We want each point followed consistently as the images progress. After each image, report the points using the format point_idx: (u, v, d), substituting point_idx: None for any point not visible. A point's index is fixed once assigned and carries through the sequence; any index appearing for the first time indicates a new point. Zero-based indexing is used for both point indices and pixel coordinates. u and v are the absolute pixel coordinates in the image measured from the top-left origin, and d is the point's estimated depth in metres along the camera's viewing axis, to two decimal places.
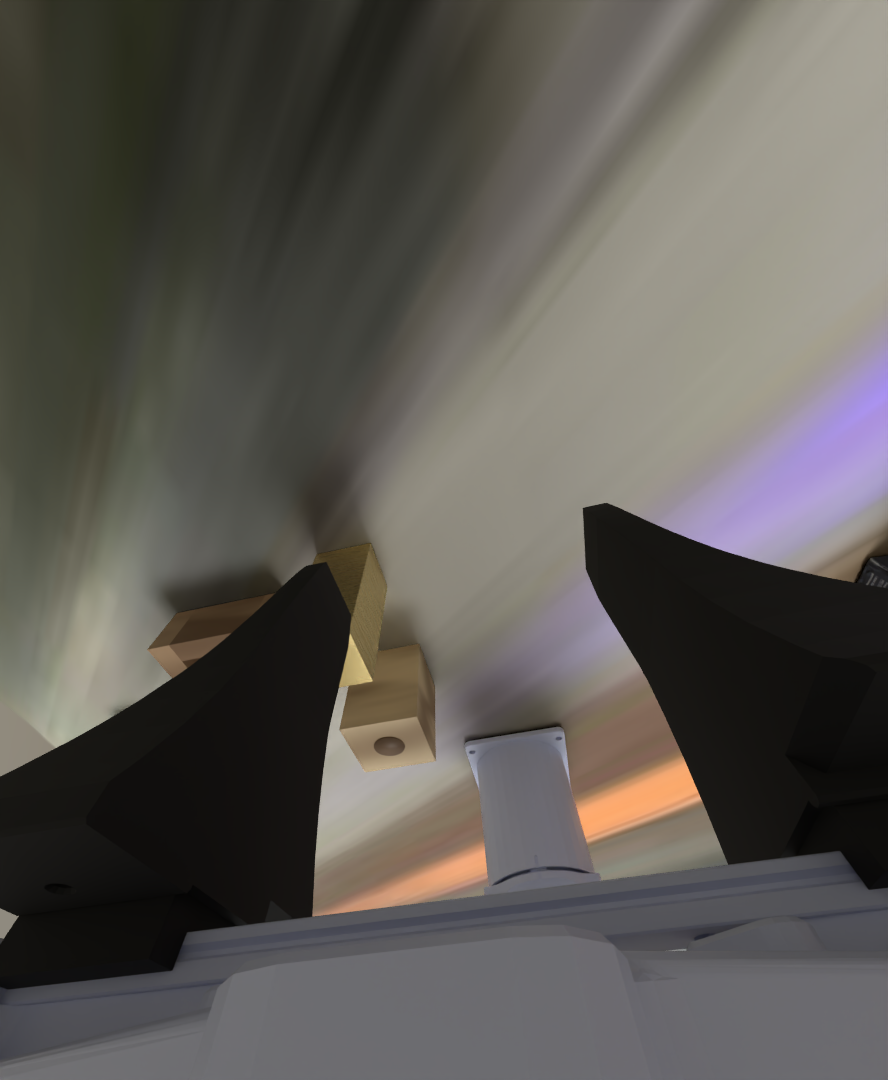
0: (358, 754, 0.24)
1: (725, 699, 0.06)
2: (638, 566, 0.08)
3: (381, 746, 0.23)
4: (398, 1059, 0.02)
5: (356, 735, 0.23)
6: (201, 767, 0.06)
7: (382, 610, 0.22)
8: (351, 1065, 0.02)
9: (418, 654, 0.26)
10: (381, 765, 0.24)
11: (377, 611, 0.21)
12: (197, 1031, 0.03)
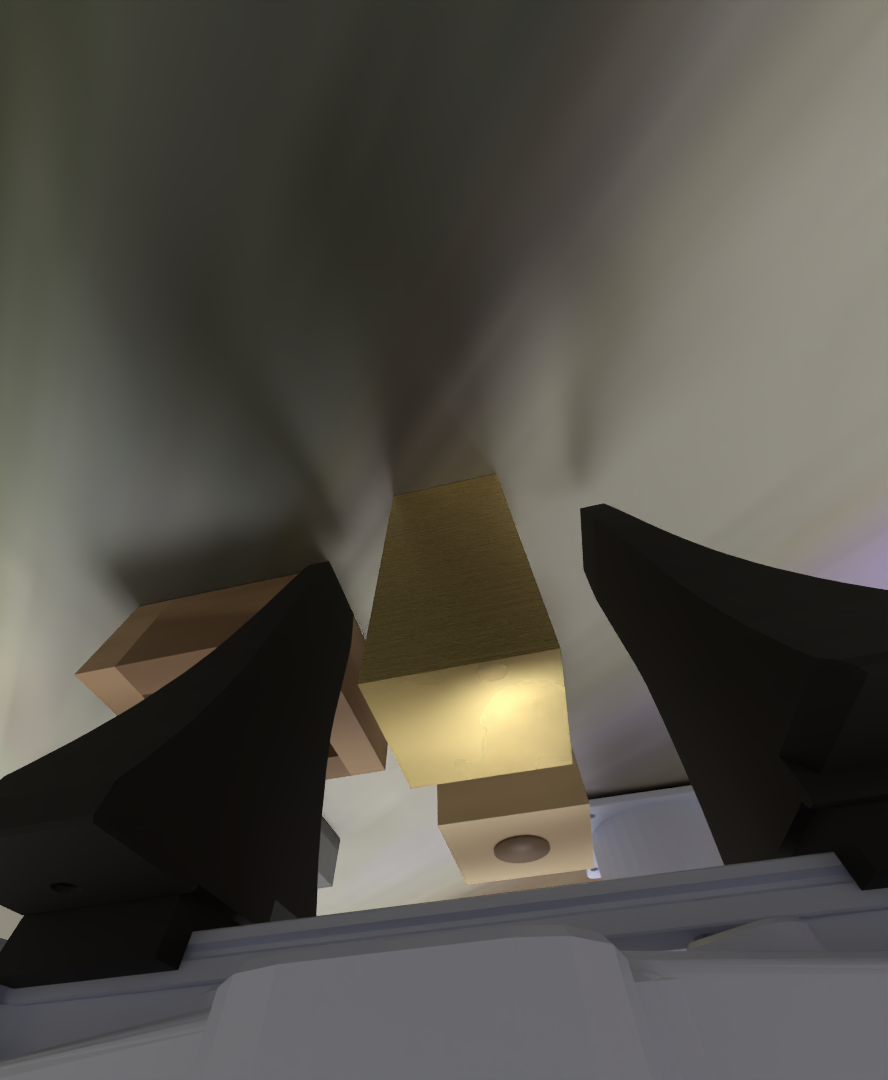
0: (462, 860, 0.13)
1: (720, 700, 0.06)
2: (634, 567, 0.08)
3: (507, 849, 0.13)
4: (399, 1060, 0.02)
5: (465, 834, 0.12)
6: (206, 766, 0.06)
7: None
8: (352, 1066, 0.02)
9: None
10: (497, 875, 0.14)
11: None
12: (197, 1031, 0.03)
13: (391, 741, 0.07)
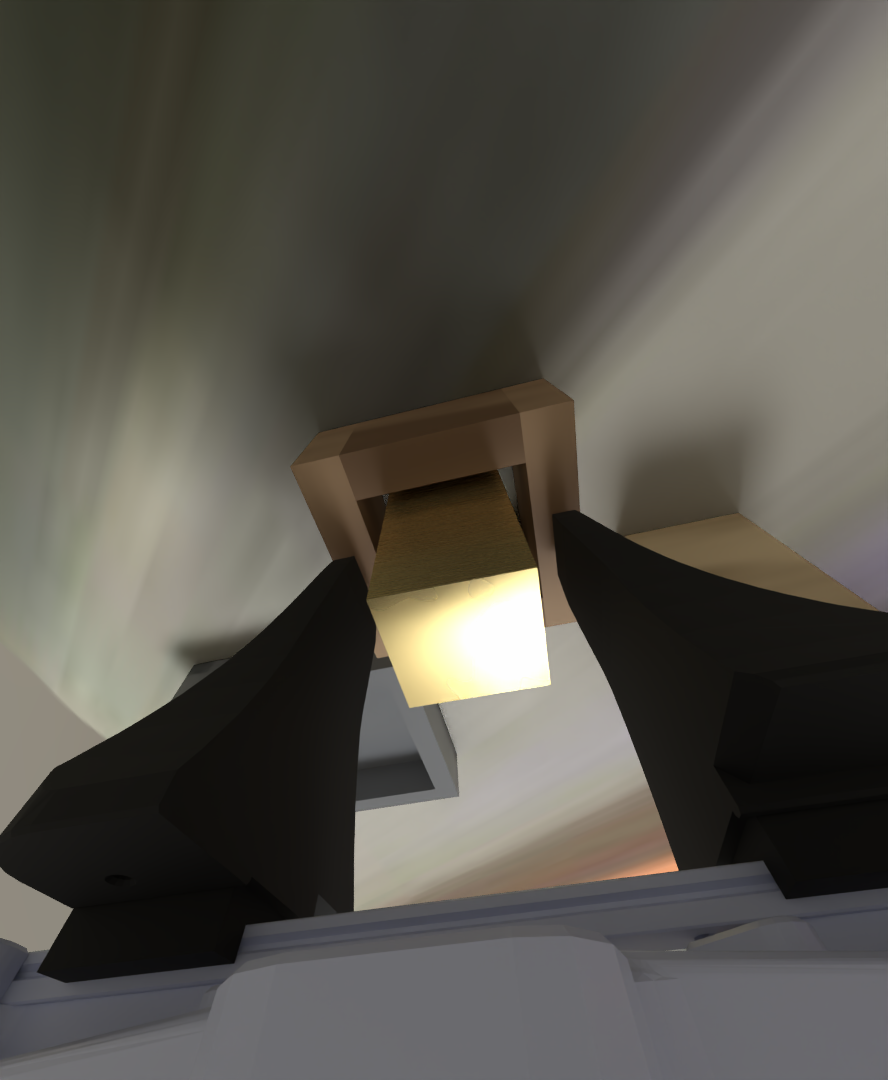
0: None
1: (667, 708, 0.06)
2: (596, 574, 0.08)
3: None
4: (398, 1060, 0.02)
5: None
6: (255, 758, 0.06)
7: None
8: (351, 1066, 0.02)
9: (753, 525, 0.14)
10: None
11: None
12: (197, 1031, 0.03)
13: (393, 658, 0.08)
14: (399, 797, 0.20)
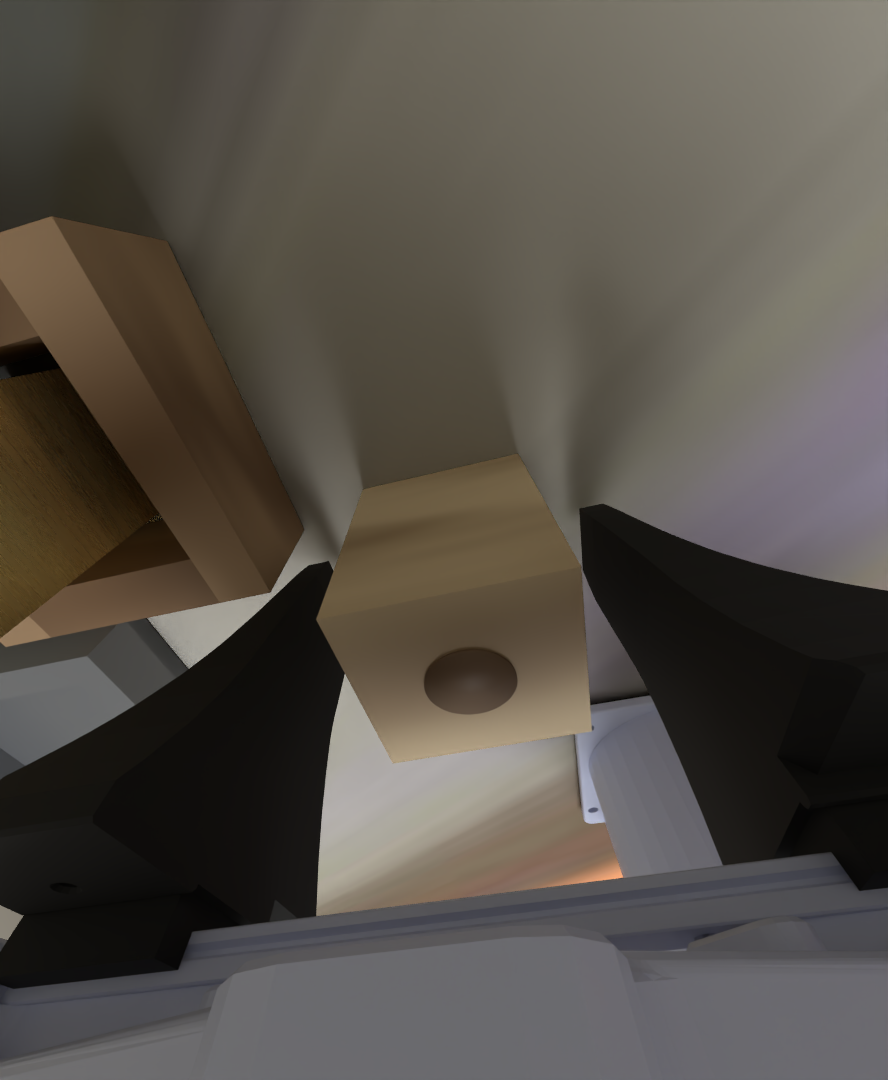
0: (375, 707, 0.08)
1: (718, 700, 0.06)
2: (633, 567, 0.08)
3: (447, 684, 0.08)
4: (399, 1059, 0.02)
5: (370, 644, 0.07)
6: (206, 766, 0.06)
7: (150, 510, 0.09)
8: (352, 1065, 0.02)
9: (523, 467, 0.10)
10: (438, 742, 0.09)
11: (109, 500, 0.08)
12: (197, 1031, 0.03)
13: None
14: None
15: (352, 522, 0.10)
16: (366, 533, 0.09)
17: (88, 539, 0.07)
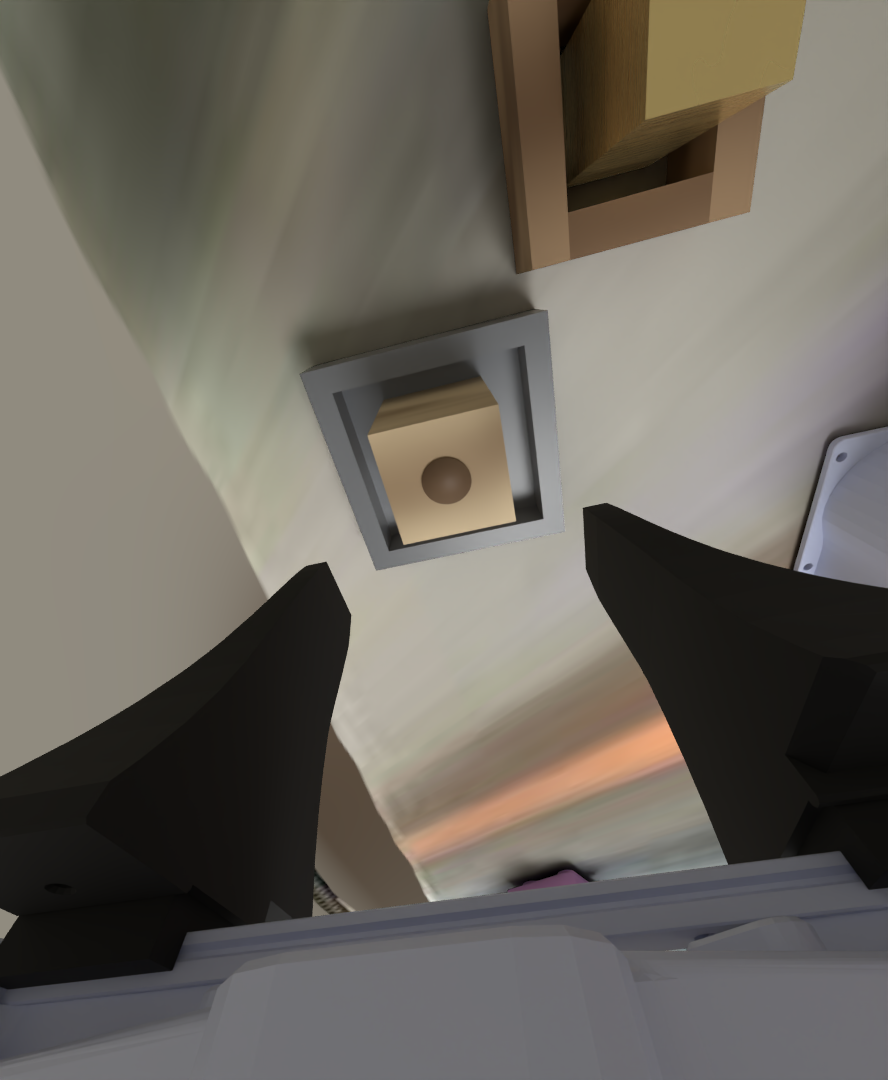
0: (395, 499, 0.15)
1: (725, 699, 0.06)
2: (638, 566, 0.08)
3: (434, 482, 0.14)
4: (399, 1060, 0.02)
5: (393, 452, 0.14)
6: (201, 767, 0.06)
7: None
8: (352, 1066, 0.02)
9: (482, 381, 0.17)
10: (429, 528, 0.15)
11: None
12: (197, 1031, 0.03)
13: (653, 10, 0.08)
14: (506, 531, 0.20)
15: (379, 410, 0.16)
16: (388, 412, 0.16)
17: None
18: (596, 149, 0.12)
